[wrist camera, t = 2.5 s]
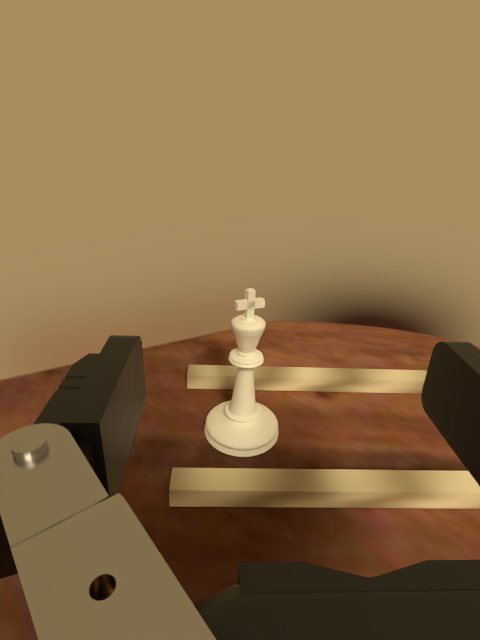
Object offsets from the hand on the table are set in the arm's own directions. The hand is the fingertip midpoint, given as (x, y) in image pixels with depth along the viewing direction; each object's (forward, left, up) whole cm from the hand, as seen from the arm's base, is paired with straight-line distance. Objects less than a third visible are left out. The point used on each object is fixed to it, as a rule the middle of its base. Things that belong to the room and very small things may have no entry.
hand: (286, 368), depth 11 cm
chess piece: (0, +11, -12) cm, 17 cm away
